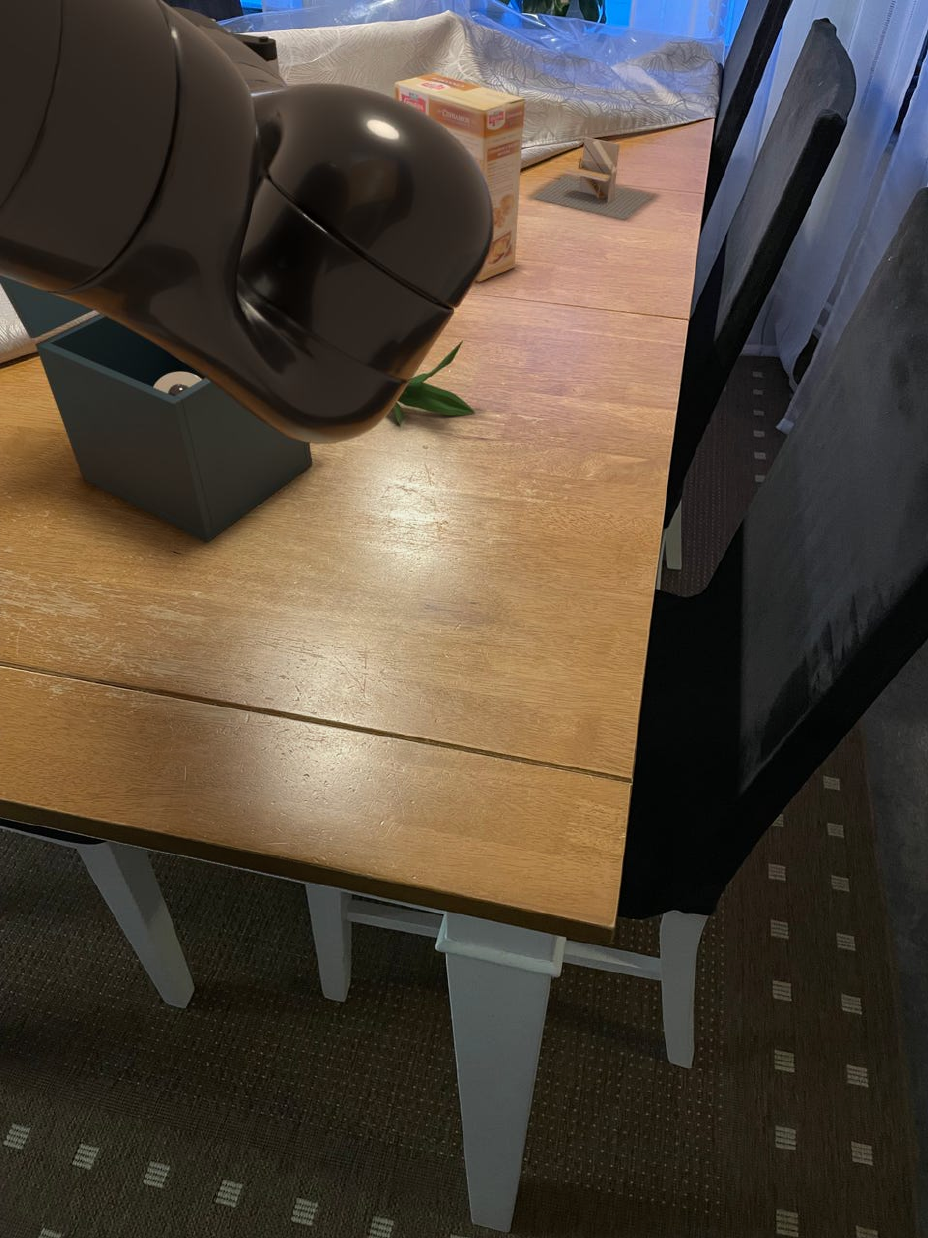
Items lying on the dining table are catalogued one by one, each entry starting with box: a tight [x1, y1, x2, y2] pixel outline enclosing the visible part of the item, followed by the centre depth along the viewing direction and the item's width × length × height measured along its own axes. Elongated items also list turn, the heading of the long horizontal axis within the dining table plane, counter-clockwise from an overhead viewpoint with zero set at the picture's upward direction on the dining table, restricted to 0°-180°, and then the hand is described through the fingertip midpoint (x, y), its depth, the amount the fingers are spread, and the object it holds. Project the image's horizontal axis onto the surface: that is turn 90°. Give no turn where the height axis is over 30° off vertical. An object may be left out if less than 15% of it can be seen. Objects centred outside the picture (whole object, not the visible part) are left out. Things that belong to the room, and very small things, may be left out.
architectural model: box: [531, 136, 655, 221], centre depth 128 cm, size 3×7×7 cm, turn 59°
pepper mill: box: [154, 372, 202, 396], centre depth 73 cm, size 5×5×12 cm
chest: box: [34, 313, 313, 543], centre depth 76 cm, size 16×14×13 cm
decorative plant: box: [392, 340, 476, 427], centre depth 91 cm, size 6×8×30 cm
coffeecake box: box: [394, 72, 526, 283], centre depth 108 cm, size 15×7×20 cm, turn 46°
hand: (122, 39), depth 49 cm, fingers closed
